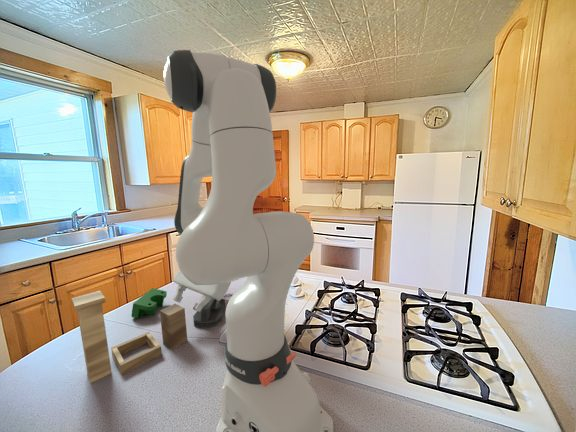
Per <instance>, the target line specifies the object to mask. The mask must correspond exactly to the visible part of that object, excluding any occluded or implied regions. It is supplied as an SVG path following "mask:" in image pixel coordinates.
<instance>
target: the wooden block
mask: <svg viewBox="0 0 576 432" xmlns="http://www.w3.org/2000/svg"><path fill="white" fill-rule="evenodd" d="M159 316H160V326H161V336H162V345H164V346H165V347H167V348H168V349H170V350H172V351H173V350H175V349H177V348H178V347H180V346H181V345H183V344H185V343H186V342H188V334H187V322H186V309H185V307H183V306H181V305H179V304H176V303H174V304H172V305H169V306H168V307H165V308H162V309H160V310H159Z"/></svg>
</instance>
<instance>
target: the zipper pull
mask: <svg viewBox="0 0 576 432" xmlns="http://www.w3.org/2000/svg"><path fill="white" fill-rule="evenodd" d="M225 307H226V299H224V298H222V299H221V300H219V301H218V300H216V299H213V298H211V300H210V301H209V302H208V303H207V304H206V305H204V306H203V307H202V309H201V311H200V312H198V311H196V312H195V313H194V315H192V317H193V327H196V328H200V329H201V328H202V329H204V328H205V329H206V328H213V327H217V326H219V324H220V323H221V322H223V317H224V313H225V309H226V308H225Z"/></svg>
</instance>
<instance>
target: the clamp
mask: <svg viewBox="0 0 576 432" xmlns="http://www.w3.org/2000/svg"><path fill="white" fill-rule="evenodd" d="M167 294H168V293H167V290H164V289H163V290H162V289H158V288H153V287H152V288H150V289H149V290H148V291H147V292H145V293H144V294H143V295H142V296H140V298H138V299H137V300H135V301H134V302H133V303H132V310H131V316H130V317H131V318H133V319H134V318H135V319H140V318H141V317H143V315H144V314H147V315H151V316H155V315H156V310H157V308H164V307H163V306H164V302H165V301H164V299H165V298H166V297H167Z"/></svg>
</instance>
